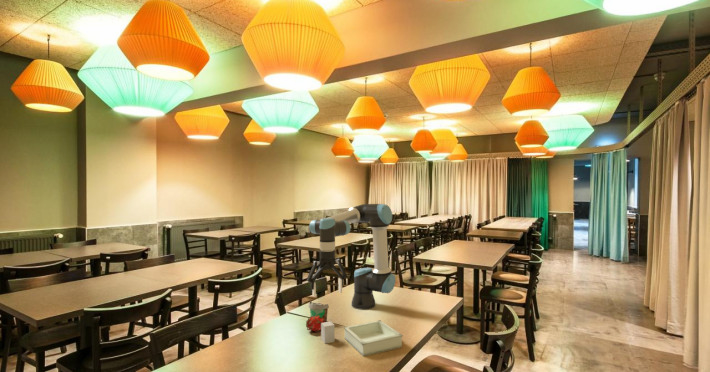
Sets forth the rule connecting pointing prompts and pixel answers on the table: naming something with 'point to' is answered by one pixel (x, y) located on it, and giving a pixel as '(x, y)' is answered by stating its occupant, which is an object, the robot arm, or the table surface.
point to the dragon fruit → (314, 323)
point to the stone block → (327, 332)
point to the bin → (373, 337)
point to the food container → (318, 310)
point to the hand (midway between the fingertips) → (327, 294)
